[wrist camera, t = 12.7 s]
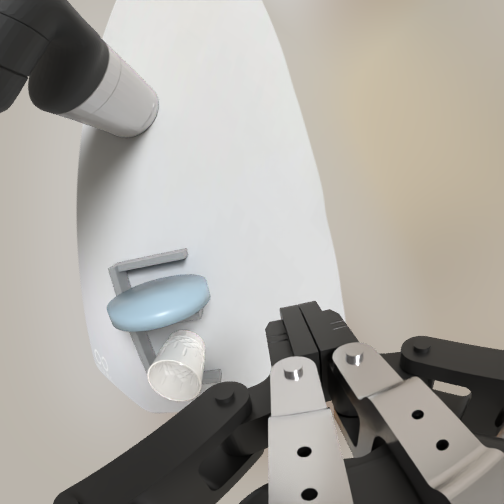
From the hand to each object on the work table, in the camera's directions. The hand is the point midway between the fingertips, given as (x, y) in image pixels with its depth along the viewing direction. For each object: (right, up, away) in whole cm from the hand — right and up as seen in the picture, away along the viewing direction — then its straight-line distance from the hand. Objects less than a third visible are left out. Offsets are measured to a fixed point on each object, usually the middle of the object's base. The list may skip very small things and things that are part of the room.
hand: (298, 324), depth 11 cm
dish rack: (-14, -8, +32) cm, 36 cm away
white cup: (-13, -13, +33) cm, 38 cm away
